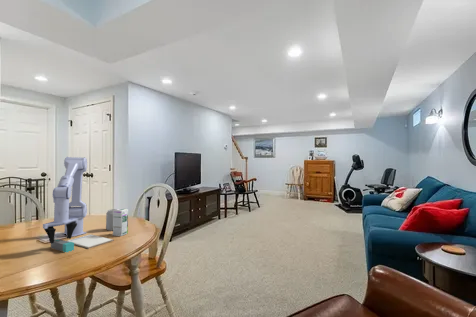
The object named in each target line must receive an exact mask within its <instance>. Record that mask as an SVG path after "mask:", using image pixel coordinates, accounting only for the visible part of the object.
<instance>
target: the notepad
mask: <svg viewBox="0 0 476 317" xmlns="http://www.w3.org/2000/svg"><path fill="white" fill-rule="evenodd" d="M67 241H68V242H74V246H76V247H80V248H84V249H87V250H88V249H92V248H95V247H99V246H102V245H106V244H108V243H112V242H114V241H115V239H112V238H107V237H103V236H99V235H95V234H88V235H84V236H81V237H76V238H71V239H69V240H67Z"/></svg>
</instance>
